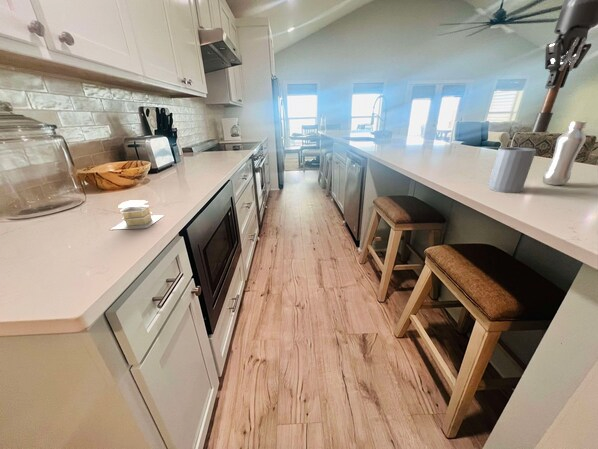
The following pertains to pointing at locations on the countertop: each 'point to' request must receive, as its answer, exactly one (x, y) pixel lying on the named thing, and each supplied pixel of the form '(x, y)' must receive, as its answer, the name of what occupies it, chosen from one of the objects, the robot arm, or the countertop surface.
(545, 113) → the brush
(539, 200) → the countertop surface
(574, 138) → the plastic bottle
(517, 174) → the cup
